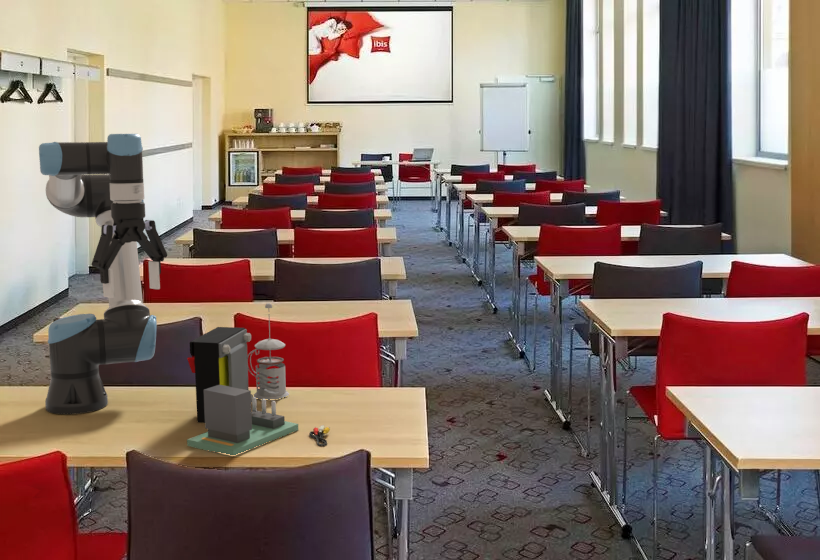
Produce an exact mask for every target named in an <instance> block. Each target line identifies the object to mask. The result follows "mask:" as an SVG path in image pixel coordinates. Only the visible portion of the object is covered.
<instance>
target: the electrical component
mask: <svg viewBox="0 0 820 560" xmlns="http://www.w3.org/2000/svg"><path fill="white" fill-rule="evenodd" d="M247 331H248V330H247V328H245V327H234V326H233V327H229V326H228V327H227V326H224V327H223V326H217V327H214V329H212V330H210V331H207V332H206V333H204V334H202V335H201V336H199V337H197V338H194V339H193V340H191V341H190V342H189V353H190V357H187V358H186V359H187V361H188V365H189V368H190V371H191V373H192V374H194V376H195V377H194V378H195V381H194V382H195V397H196V399H195V400H196V401H195V402H196V421H197V423H198V424H199V423H200V424H205V413H204V389H207V388H211V387H214V386H217V385H224V386H229V387H234V388H239V389H245V390H249V370H248V368H249V363H248V362H249V358H248V359H247V357H248V343H249V342H250V341H252V334H251V333H250V332H247ZM253 395H254V394H252V393H251V404H252V398H253Z"/></svg>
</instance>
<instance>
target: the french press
mask: <svg viewBox="0 0 820 560" xmlns="http://www.w3.org/2000/svg"><path fill="white" fill-rule="evenodd" d="M264 308H265V309H268V311H270V309H272V308H273V305H272V303H271V302H270V303H269V302H268V303H266V304H265V305H264ZM270 320H271V319H270V315H268V331H269V332H268V335H269V336H268V338H266V339H265V338H264V339H263V340H259V341H258V342H257V343H255V344H254V347H255V349H253V350H252V351H250V352H249V353H247V359H248V360H249V365H250V367H248V373H250V374H251V375H252V376H253V377H255V379H256V380H255V381H256V382H255V383H256V392H255V393H254V394H253V395H254V397H256V398H258V399H268V400H270V399H279V398H283V397H286V396H288V395H289V394H290V393H289V392H288V390H286V389H287V387H286V365H285V363H283V362H284V361H285V359H284V358H283V357H279V356H272V355H271V353H272V352H271V351H276V350H281V349H284V348H285V347H286V343H284V342H282V341H281V340H279V339H274V338H271V322H270ZM257 350H258V351H257ZM261 350H262V351H269V356H264V357H260V358H258V359H256V362H257V365H255V370H254V367H253V366H252V355H253V354H255V355H256V356H257V355H258V356H259V354H260V351H261ZM249 356H250V357H249ZM270 367H274V368H270ZM276 367H277V368H276ZM250 368H251V370H250ZM268 368H269V369H268ZM252 371H253V373H254V374H253V373H252ZM255 374H256V375H255ZM288 397H289V396H288ZM258 399H257V400H258Z"/></svg>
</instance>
